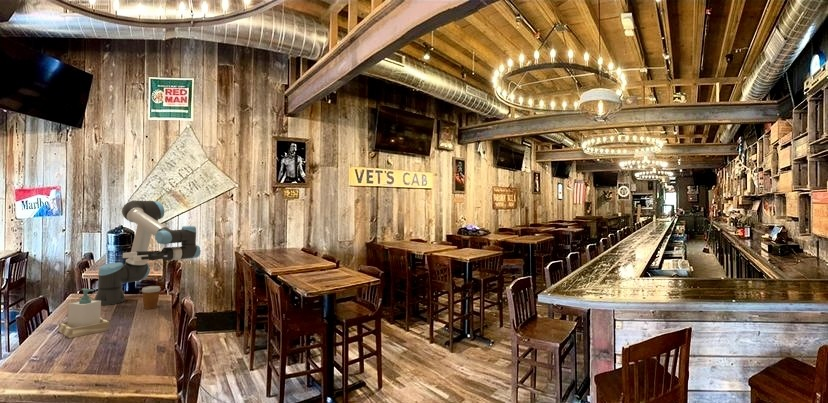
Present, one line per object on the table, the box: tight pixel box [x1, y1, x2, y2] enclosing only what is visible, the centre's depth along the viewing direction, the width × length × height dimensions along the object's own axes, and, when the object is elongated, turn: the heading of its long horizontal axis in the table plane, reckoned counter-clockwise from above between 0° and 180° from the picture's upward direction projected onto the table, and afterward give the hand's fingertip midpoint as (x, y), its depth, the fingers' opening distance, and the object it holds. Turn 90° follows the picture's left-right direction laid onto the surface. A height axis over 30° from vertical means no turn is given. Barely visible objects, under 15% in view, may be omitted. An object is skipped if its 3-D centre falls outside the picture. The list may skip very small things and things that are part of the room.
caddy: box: [57, 317, 110, 339], centre depth 188 cm, size 15×15×4 cm
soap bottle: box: [67, 288, 102, 328], centre depth 188 cm, size 9×9×19 cm
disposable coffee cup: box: [141, 285, 162, 310], centre depth 231 cm, size 10×10×12 cm
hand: (128, 257), depth 207 cm, fingers open, 13 cm apart
